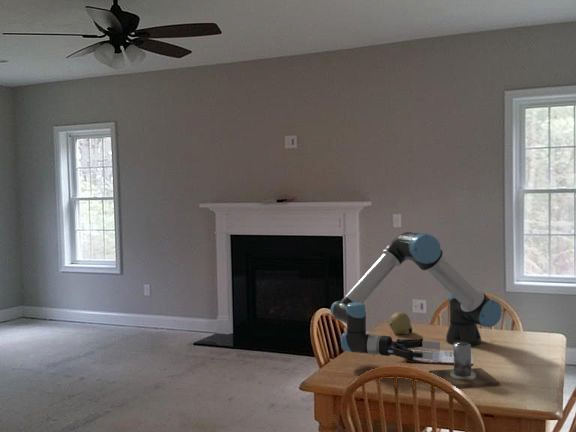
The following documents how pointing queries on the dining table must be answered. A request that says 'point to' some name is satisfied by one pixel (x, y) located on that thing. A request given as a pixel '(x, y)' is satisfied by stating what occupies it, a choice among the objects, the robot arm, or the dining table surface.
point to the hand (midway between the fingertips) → (436, 350)
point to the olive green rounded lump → (400, 323)
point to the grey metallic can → (462, 359)
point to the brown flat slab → (467, 378)
